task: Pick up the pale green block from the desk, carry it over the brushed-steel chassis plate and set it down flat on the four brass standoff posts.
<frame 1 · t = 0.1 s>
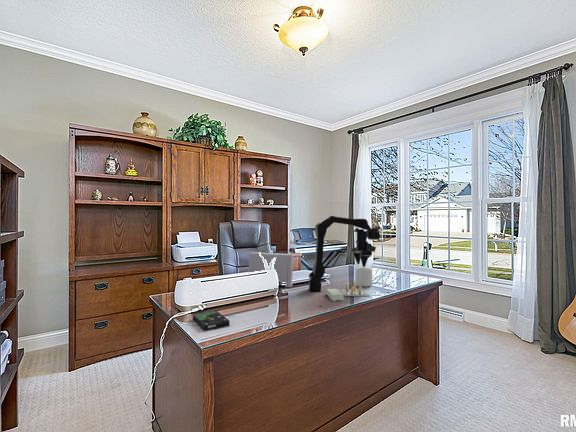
hand: (361, 265, 178), 15 cm above the table, tool pointing down, fingers open, 9 cm apart
pale green block: (334, 298, 160), on the table
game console: (270, 285, 186), on the table
disk drive: (210, 324, 120), on the table
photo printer: (363, 286, 188), on the table
chassis: (353, 293, 169), on the table
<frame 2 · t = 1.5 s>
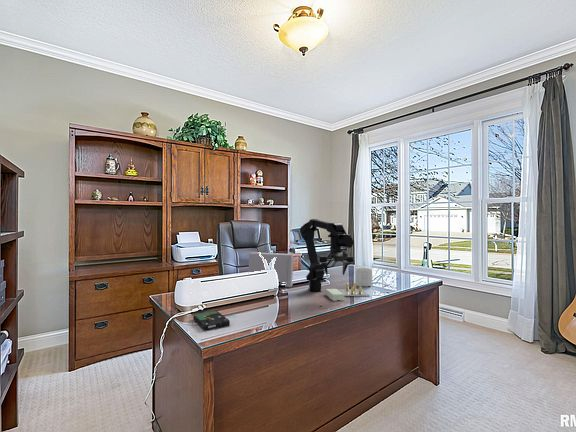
hand: (335, 274, 161), 12 cm above the table, tool pointing down, fingers open, 9 cm apart
nothing on the table moved.
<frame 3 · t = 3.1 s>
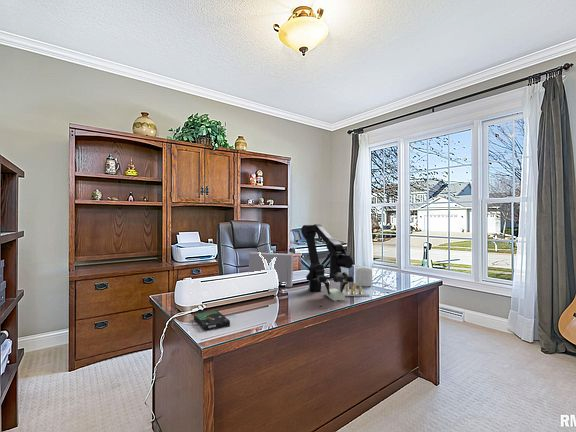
hand: (334, 294, 160), 2 cm above the table, tool pointing down, fingers closed on pale green block, 6 cm apart
pale green block: (334, 297, 160), on the table, touching gripper
everything else where it was.
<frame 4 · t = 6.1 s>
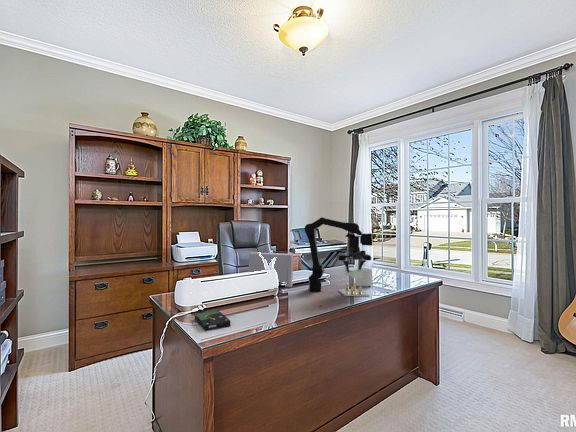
hand: (353, 272, 168), 12 cm above the table, tool pointing down, fingers closed on pale green block, 6 cm apart
pale green block: (353, 275, 168), point 10 cm above the table, touching gripper
everything else where it was.
when the fingers open (7 cm above the table, at t = 8.0 s): pale green block stays where it is, resting on chassis.
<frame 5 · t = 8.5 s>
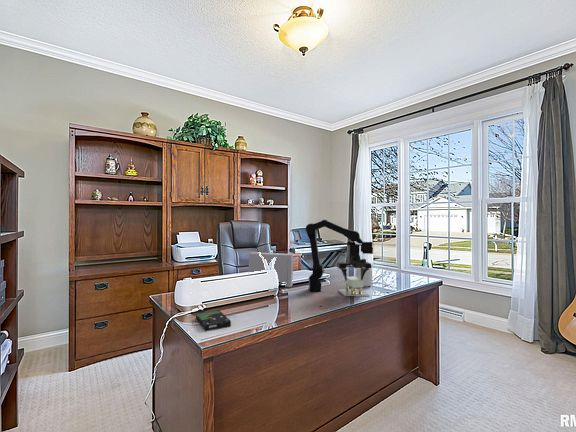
hand: (353, 280, 169), 7 cm above the table, tool pointing down, fingers open, 9 cm apart
pale green block: (353, 284, 169), point 5 cm above the table, touching chassis
everything else where it was.
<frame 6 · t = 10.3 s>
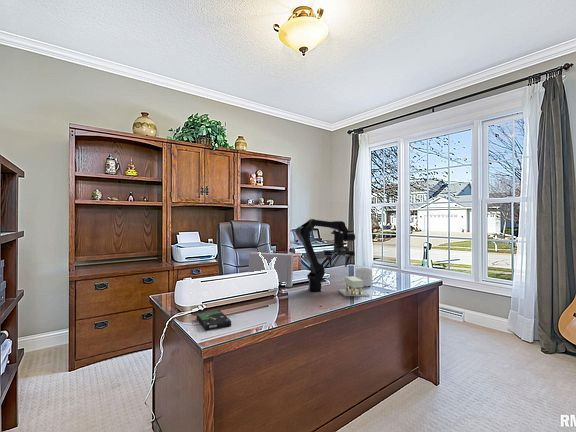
hand: (338, 267, 181), 13 cm above the table, tool pointing down, fingers open, 9 cm apart
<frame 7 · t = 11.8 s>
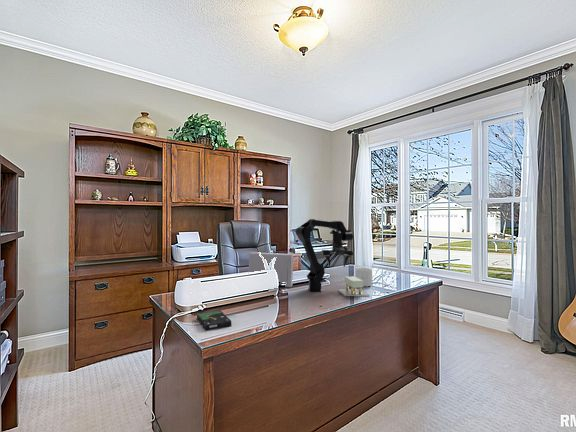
hand: (336, 266, 182), 13 cm above the table, tool pointing down, fingers open, 9 cm apart
at the end: pale green block 0.0 cm off-centre on the chassis, point 5.0 cm above the chassis's base; pale green block tilted 0°; the gripper is holding nothing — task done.
